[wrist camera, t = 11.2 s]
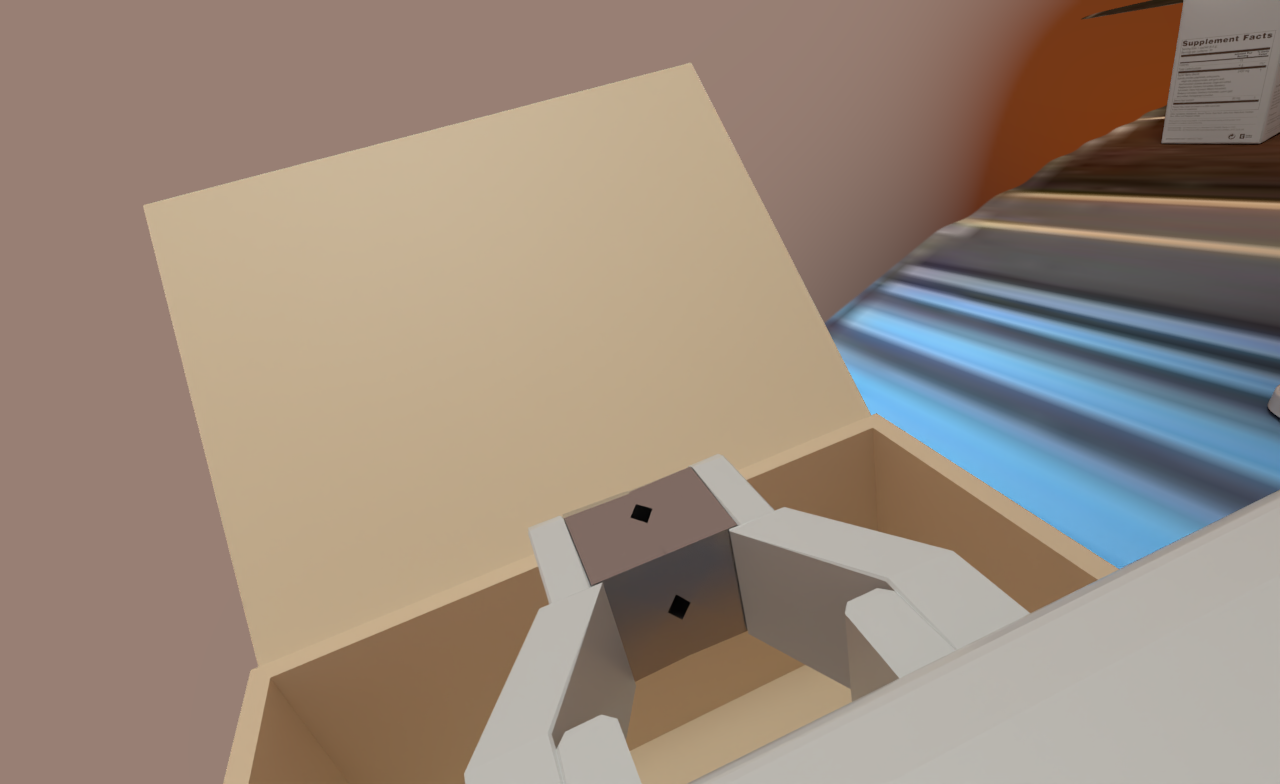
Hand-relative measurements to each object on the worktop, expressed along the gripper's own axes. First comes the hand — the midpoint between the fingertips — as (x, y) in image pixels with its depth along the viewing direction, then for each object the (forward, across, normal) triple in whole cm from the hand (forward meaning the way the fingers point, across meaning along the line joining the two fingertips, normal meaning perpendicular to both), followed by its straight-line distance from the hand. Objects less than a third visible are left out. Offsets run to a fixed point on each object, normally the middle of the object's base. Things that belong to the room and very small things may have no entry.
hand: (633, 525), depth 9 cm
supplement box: (+43, -81, +16) cm, 93 cm away
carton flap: (+13, 0, +1) cm, 13 cm away
